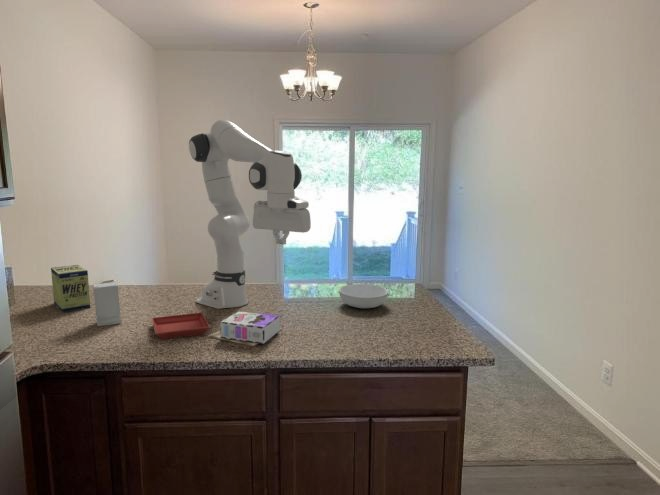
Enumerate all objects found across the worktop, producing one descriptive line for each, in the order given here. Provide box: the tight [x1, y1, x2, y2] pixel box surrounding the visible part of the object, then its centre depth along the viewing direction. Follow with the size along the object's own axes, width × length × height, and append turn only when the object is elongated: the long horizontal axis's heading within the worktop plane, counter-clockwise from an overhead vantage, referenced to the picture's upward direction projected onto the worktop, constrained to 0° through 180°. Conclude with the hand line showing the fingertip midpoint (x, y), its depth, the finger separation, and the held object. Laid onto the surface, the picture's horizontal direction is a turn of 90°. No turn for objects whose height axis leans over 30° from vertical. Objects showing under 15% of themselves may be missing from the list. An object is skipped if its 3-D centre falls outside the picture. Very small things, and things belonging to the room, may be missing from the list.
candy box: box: [219, 310, 281, 344], centre depth 162 cm, size 14×6×16 cm
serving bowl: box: [338, 283, 389, 310], centre depth 200 cm, size 21×21×7 cm
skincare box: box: [92, 281, 122, 327], centre depth 172 cm, size 8×6×15 cm
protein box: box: [50, 264, 91, 313], centre depth 192 cm, size 10×16×16 cm
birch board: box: [209, 327, 283, 347], centre depth 165 cm, size 18×18×1 cm
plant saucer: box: [151, 312, 211, 340], centre depth 168 cm, size 18×18×3 cm
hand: (281, 244), depth 154 cm, fingers closed
